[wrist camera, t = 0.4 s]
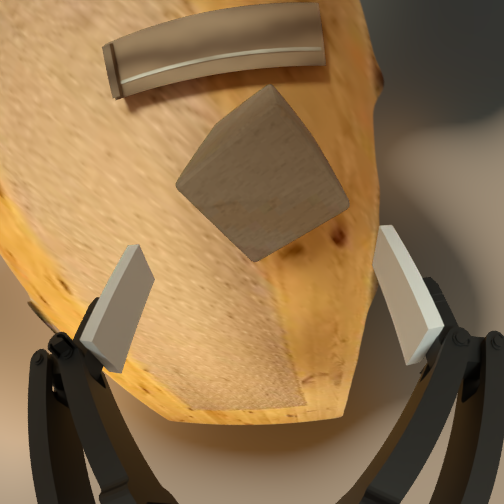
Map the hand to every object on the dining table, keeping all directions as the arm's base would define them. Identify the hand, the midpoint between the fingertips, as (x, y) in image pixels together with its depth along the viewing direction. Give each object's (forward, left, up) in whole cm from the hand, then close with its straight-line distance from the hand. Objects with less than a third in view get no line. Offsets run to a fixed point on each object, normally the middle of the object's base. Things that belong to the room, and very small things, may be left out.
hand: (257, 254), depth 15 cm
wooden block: (0, 0, -27) cm, 27 cm away
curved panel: (-13, -5, -27) cm, 31 cm away
